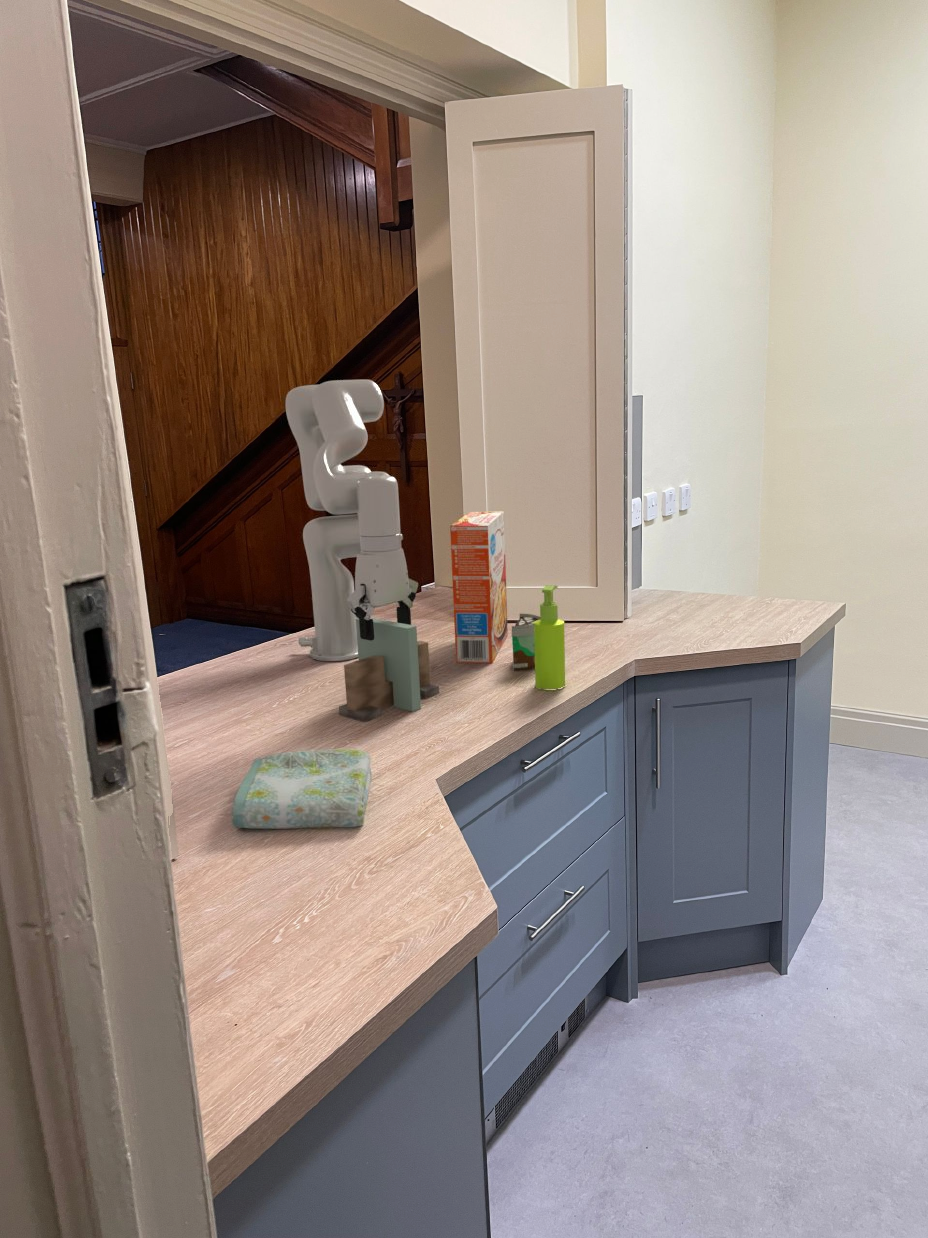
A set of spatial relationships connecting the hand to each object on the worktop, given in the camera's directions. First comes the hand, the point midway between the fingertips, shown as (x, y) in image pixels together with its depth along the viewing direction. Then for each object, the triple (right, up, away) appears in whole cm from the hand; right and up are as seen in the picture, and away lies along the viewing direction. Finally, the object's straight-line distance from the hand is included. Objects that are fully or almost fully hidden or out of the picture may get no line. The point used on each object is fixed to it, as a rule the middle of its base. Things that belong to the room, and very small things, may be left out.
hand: (386, 633), depth 177 cm
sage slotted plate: (+1, -13, +3) cm, 14 cm away
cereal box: (+19, -4, +39) cm, 43 cm away
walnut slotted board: (+1, -13, +3) cm, 14 cm away
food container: (+29, -7, +24) cm, 39 cm away
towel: (-8, -25, -38) cm, 46 cm away
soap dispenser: (+32, -11, +10) cm, 35 cm away
